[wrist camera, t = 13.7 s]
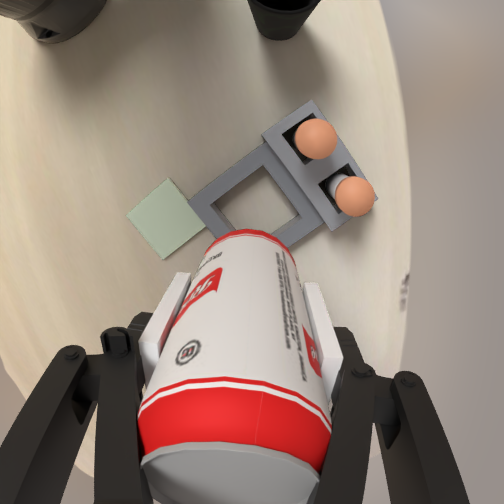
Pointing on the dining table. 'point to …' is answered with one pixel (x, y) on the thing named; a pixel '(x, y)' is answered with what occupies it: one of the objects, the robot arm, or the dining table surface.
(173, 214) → the coaster
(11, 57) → the dining table surface
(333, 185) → the ball
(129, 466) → the robot arm
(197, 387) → the beer can
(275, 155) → the grey rack with holes
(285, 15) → the cup
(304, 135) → the plunger inner
